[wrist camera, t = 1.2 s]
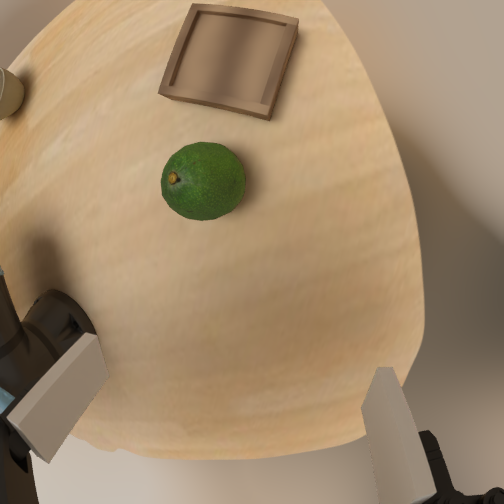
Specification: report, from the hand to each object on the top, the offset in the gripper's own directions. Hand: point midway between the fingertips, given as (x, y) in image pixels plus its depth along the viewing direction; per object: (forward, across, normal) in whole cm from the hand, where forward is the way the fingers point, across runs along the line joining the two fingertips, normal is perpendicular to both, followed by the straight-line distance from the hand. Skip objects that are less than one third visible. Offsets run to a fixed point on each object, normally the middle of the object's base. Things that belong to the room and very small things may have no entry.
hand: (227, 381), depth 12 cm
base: (+23, -4, +21) cm, 31 cm away
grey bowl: (+24, -44, +24) cm, 55 cm away
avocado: (+23, -6, +7) cm, 25 cm away
